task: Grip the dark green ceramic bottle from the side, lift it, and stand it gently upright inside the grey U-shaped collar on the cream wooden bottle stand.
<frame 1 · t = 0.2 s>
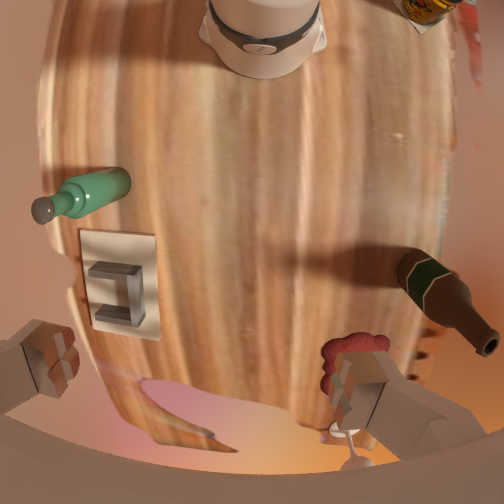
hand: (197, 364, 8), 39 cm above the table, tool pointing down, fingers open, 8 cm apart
bottle stand: (121, 285, 51), on the table
patty: (353, 365, 57), on the table
beer bottle: (413, 268, 49), on the table
condiment: (419, 10, 33), on the table
wineglass: (346, 425, 63), on the table
bottle: (116, 182, 45), on the table
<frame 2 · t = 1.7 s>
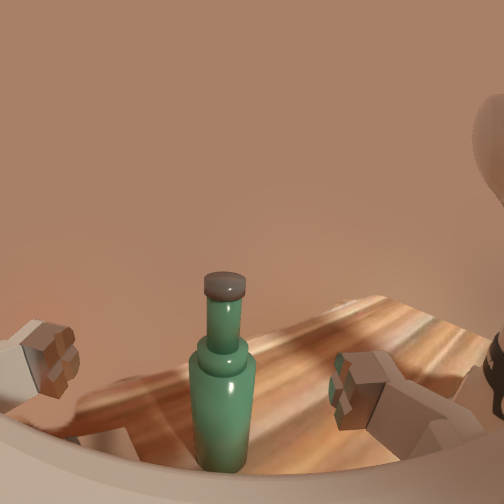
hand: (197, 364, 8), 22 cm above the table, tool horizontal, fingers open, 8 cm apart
bottle stand: (57, 499, 16), on the table
bottle: (221, 456, 26), on the table
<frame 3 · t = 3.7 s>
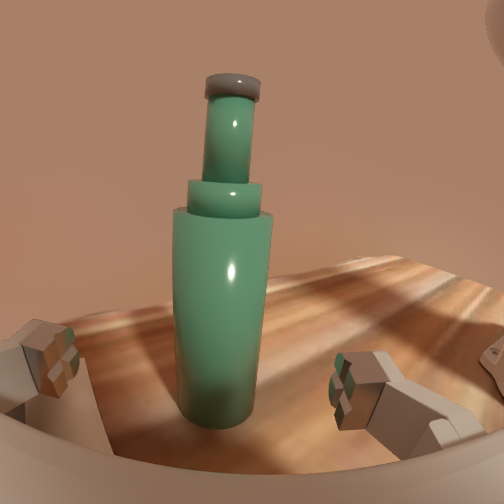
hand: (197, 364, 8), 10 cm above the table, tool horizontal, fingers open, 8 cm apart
bottle: (216, 402, 19), on the table
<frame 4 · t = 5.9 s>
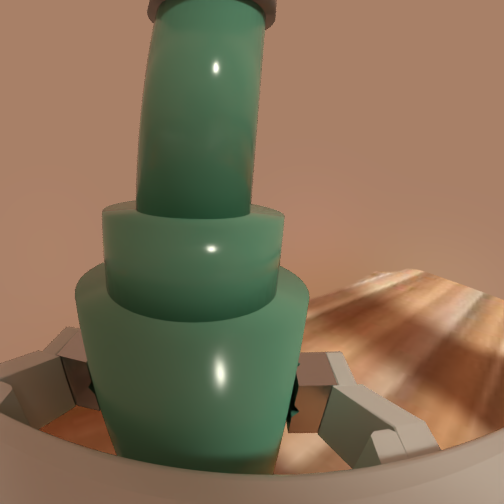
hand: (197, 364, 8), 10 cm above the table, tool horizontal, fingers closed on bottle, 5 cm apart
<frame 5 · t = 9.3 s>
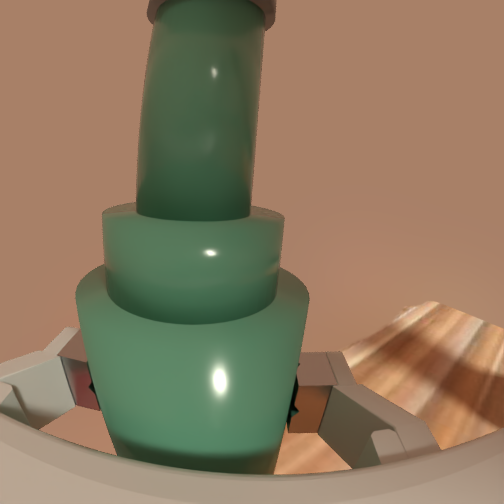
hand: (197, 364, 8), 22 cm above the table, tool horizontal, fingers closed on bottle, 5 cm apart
when the fingers open (13 cm above the table, at t = 12.5 s): bottle drops 1 cm, resting on bottle stand.
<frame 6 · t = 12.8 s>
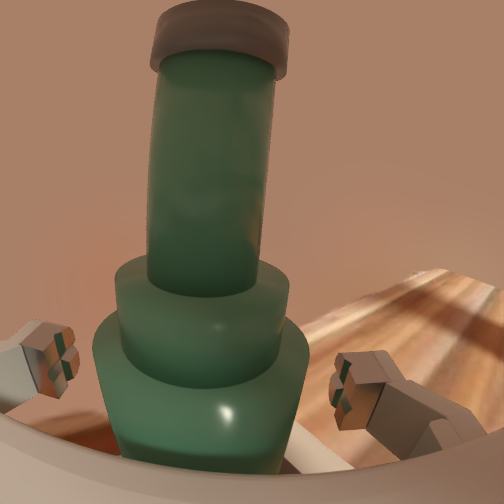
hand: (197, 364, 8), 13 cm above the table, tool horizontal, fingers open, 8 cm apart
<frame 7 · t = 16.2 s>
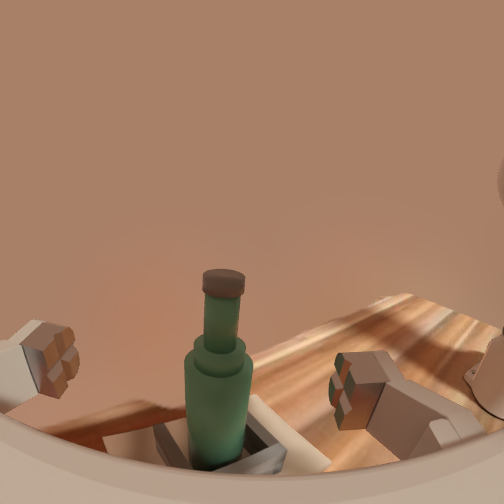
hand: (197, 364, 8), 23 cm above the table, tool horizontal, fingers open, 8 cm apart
bottle stand: (214, 465, 26), on the table
bottle: (214, 459, 25), point 1 cm above the table, touching bottle stand
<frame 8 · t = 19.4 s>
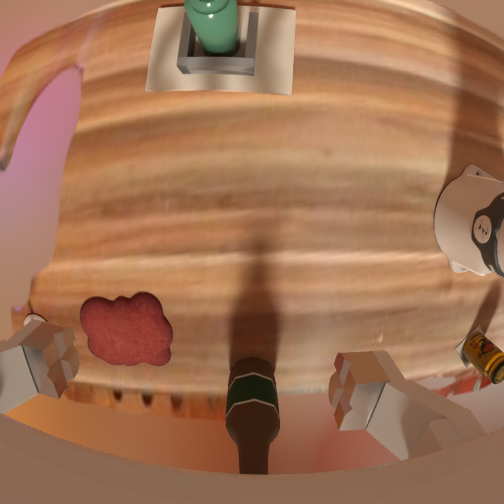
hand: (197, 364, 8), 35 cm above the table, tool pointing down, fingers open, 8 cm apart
bottle stand: (221, 47, 36), on the table
patty: (126, 330, 48), on the table
beer bottle: (252, 373, 50), on the table
condiment: (472, 345, 50), on the table
bottle: (221, 44, 35), point 1 cm above the table, touching bottle stand
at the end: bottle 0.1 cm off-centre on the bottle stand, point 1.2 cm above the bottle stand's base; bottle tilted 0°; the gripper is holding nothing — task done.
